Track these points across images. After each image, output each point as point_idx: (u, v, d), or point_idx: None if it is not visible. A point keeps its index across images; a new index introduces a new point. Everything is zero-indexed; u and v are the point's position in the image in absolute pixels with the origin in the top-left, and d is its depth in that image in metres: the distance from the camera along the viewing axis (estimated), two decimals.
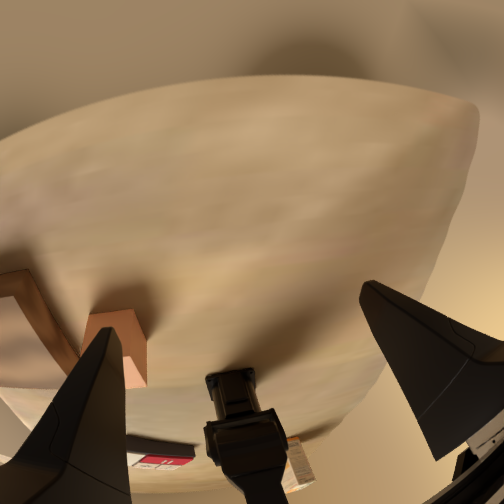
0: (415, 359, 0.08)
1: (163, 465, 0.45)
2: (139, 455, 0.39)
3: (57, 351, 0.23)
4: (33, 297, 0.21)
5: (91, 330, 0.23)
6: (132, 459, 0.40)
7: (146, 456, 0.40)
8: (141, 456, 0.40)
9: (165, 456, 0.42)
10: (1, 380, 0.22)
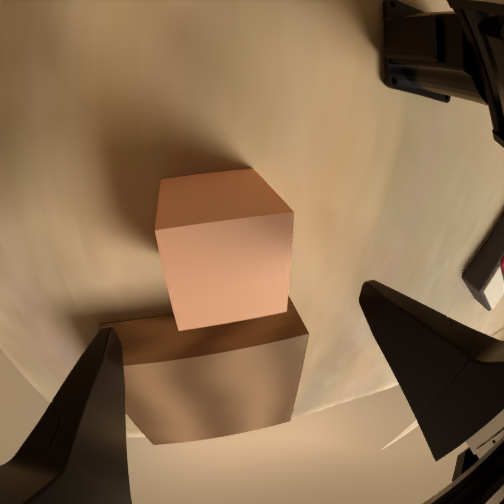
0: (415, 359, 0.08)
1: None
2: (495, 275, 0.24)
3: (221, 336, 0.18)
4: (127, 334, 0.17)
5: None
6: (497, 285, 0.26)
7: (502, 265, 0.24)
8: (498, 272, 0.24)
9: None
10: (276, 417, 0.24)
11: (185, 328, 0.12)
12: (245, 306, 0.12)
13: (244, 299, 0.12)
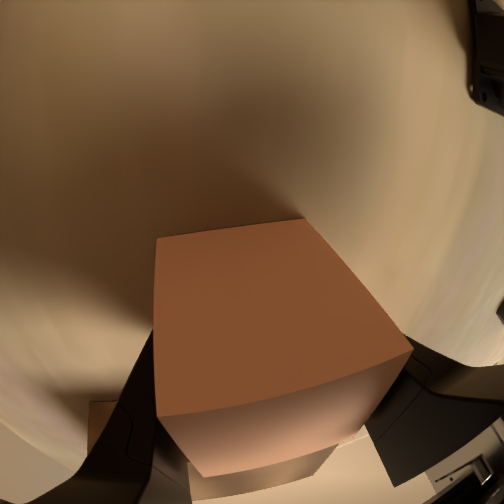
0: None
1: None
2: None
3: None
4: None
5: None
6: None
7: None
8: None
9: None
10: (300, 476, 0.18)
11: (213, 475, 0.07)
12: (302, 449, 0.07)
13: (303, 446, 0.07)
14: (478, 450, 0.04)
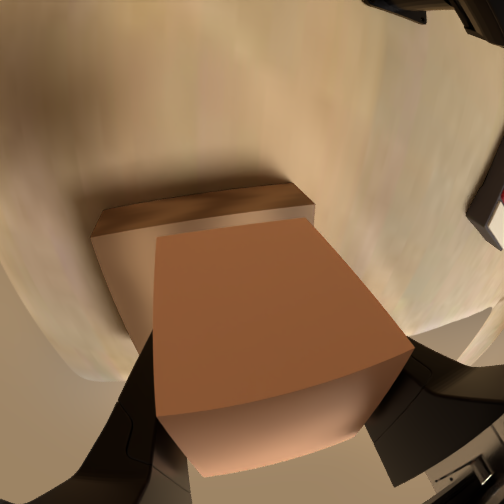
0: None
1: None
2: (497, 210, 0.24)
3: (226, 205, 0.18)
4: (131, 212, 0.18)
5: None
6: (503, 222, 0.26)
7: (503, 200, 0.24)
8: (501, 208, 0.24)
9: None
10: None
11: (213, 475, 0.07)
12: (303, 449, 0.07)
13: (304, 445, 0.07)
14: (478, 450, 0.04)
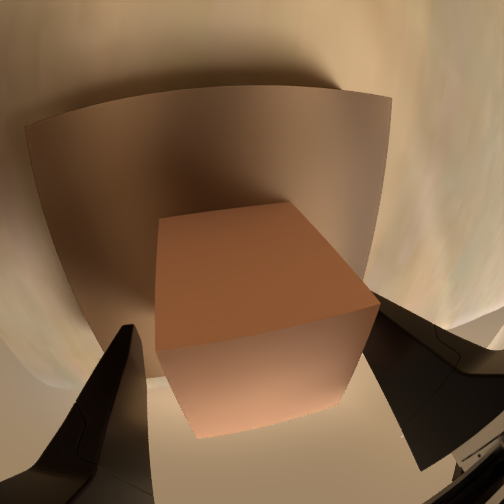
0: (398, 367, 0.07)
1: None
2: None
3: None
4: None
5: None
6: None
7: None
8: None
9: None
10: None
11: (206, 436, 0.08)
12: (289, 410, 0.08)
13: (289, 405, 0.08)
14: None
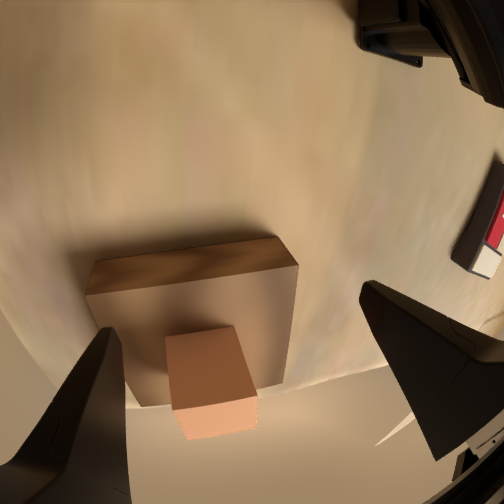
0: (415, 359, 0.08)
1: None
2: (481, 253, 0.27)
3: (213, 266, 0.19)
4: (122, 267, 0.18)
5: None
6: (488, 259, 0.29)
7: (487, 242, 0.27)
8: (485, 250, 0.27)
9: (495, 215, 0.25)
10: (268, 375, 0.25)
11: (192, 439, 0.17)
12: (229, 429, 0.17)
13: (228, 427, 0.17)
14: None
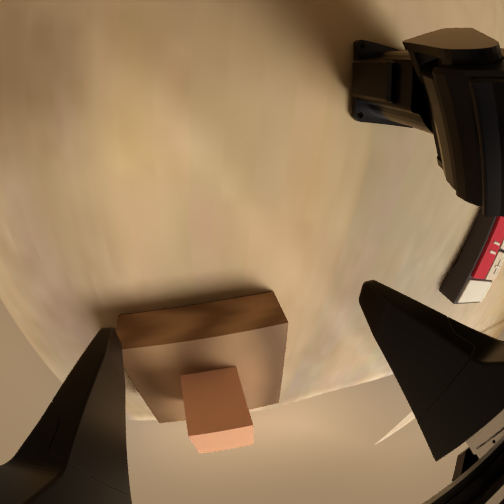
0: (415, 359, 0.08)
1: (503, 245, 0.29)
2: (467, 288, 0.30)
3: (218, 323, 0.22)
4: (142, 323, 0.22)
5: None
6: (476, 289, 0.32)
7: (474, 277, 0.30)
8: (471, 283, 0.30)
9: (482, 253, 0.28)
10: (266, 397, 0.29)
11: (203, 452, 0.21)
12: (232, 445, 0.21)
13: (231, 444, 0.21)
14: None
